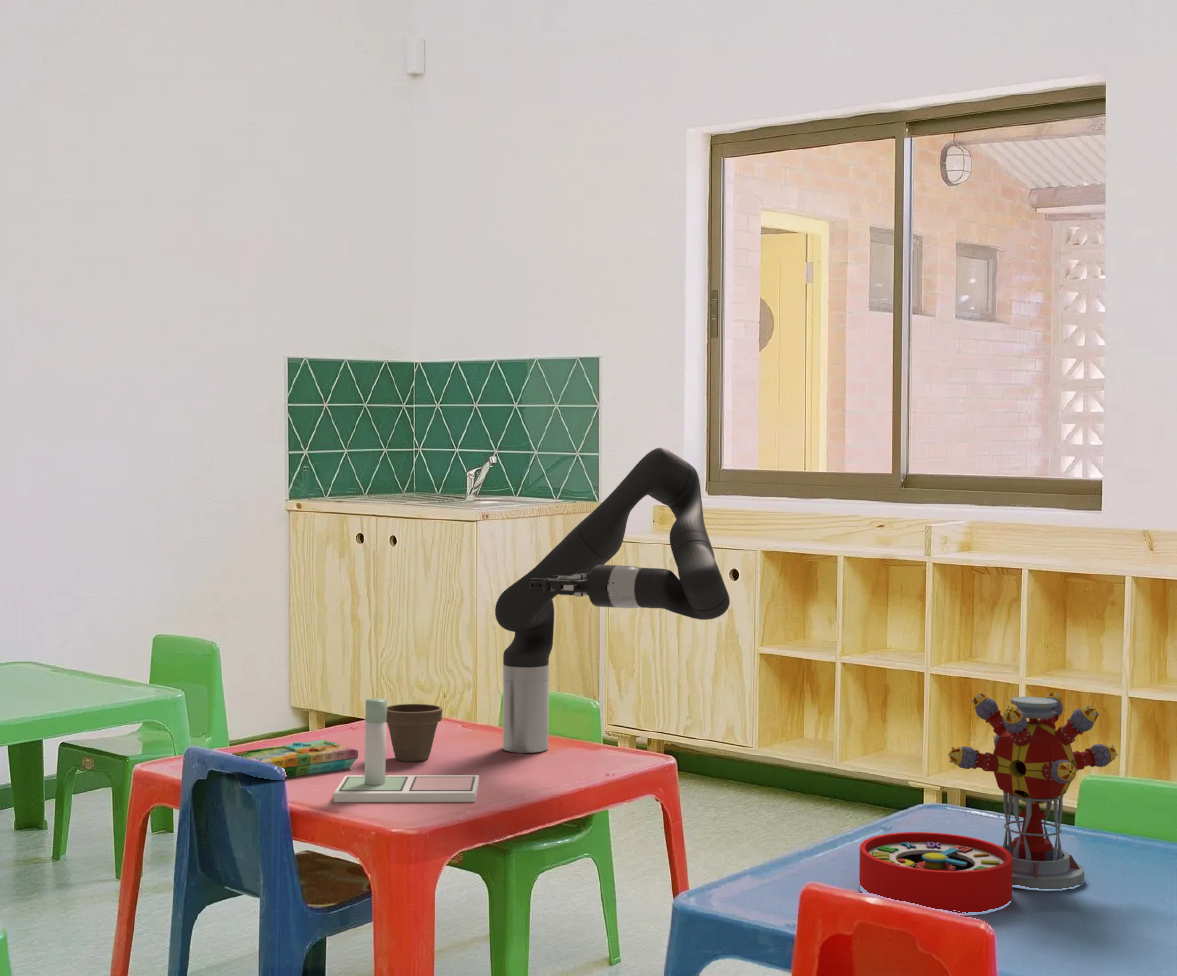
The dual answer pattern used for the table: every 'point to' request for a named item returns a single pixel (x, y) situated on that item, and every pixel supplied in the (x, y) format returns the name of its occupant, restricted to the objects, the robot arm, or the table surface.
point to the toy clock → (937, 870)
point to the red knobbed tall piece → (1035, 779)
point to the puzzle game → (305, 757)
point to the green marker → (375, 741)
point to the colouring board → (409, 789)
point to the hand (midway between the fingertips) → (539, 582)
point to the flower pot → (413, 730)
